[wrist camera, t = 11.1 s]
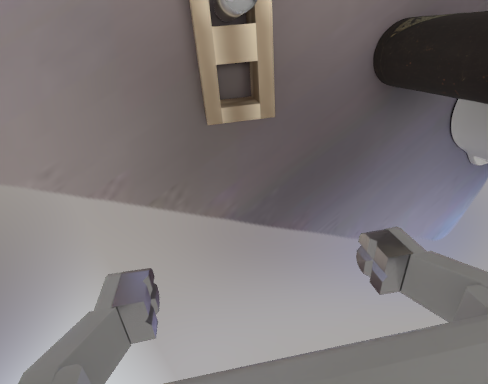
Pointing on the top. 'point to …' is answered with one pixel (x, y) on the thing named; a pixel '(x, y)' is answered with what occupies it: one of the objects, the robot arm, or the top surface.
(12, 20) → the top surface
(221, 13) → the peg
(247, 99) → the socket block
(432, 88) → the container
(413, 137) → the top surface
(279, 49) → the top surface
